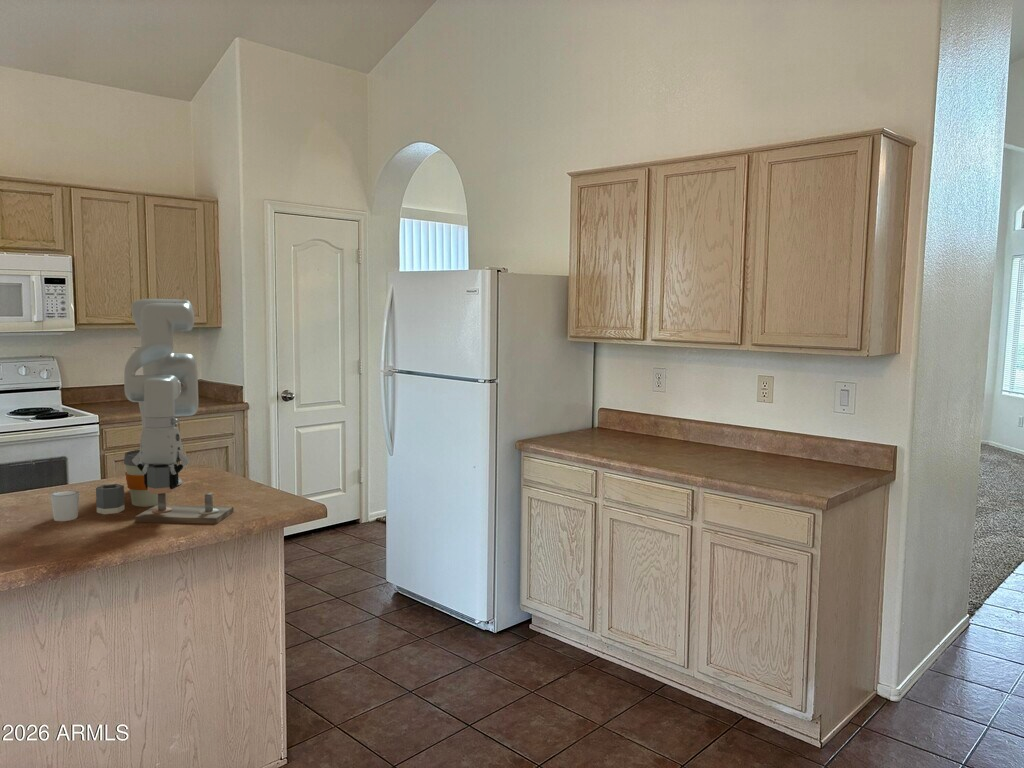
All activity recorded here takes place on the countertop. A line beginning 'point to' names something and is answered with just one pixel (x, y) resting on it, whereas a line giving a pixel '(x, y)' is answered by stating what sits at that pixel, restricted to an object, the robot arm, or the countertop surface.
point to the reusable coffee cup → (137, 483)
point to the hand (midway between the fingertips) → (161, 487)
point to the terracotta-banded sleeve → (158, 479)
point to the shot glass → (65, 505)
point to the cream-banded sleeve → (110, 498)
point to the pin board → (185, 512)
